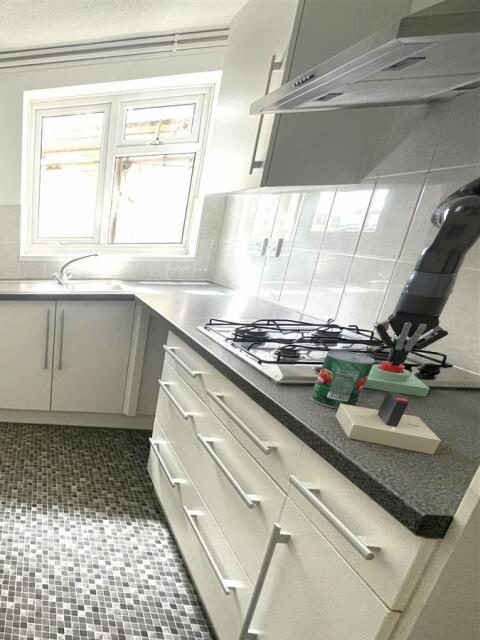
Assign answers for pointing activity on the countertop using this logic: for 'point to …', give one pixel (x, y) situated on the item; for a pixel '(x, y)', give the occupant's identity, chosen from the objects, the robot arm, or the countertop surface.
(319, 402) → the canned tomato
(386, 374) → the button block
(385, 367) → the button
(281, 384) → the countertop surface
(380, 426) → the panel
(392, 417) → the oven knob
